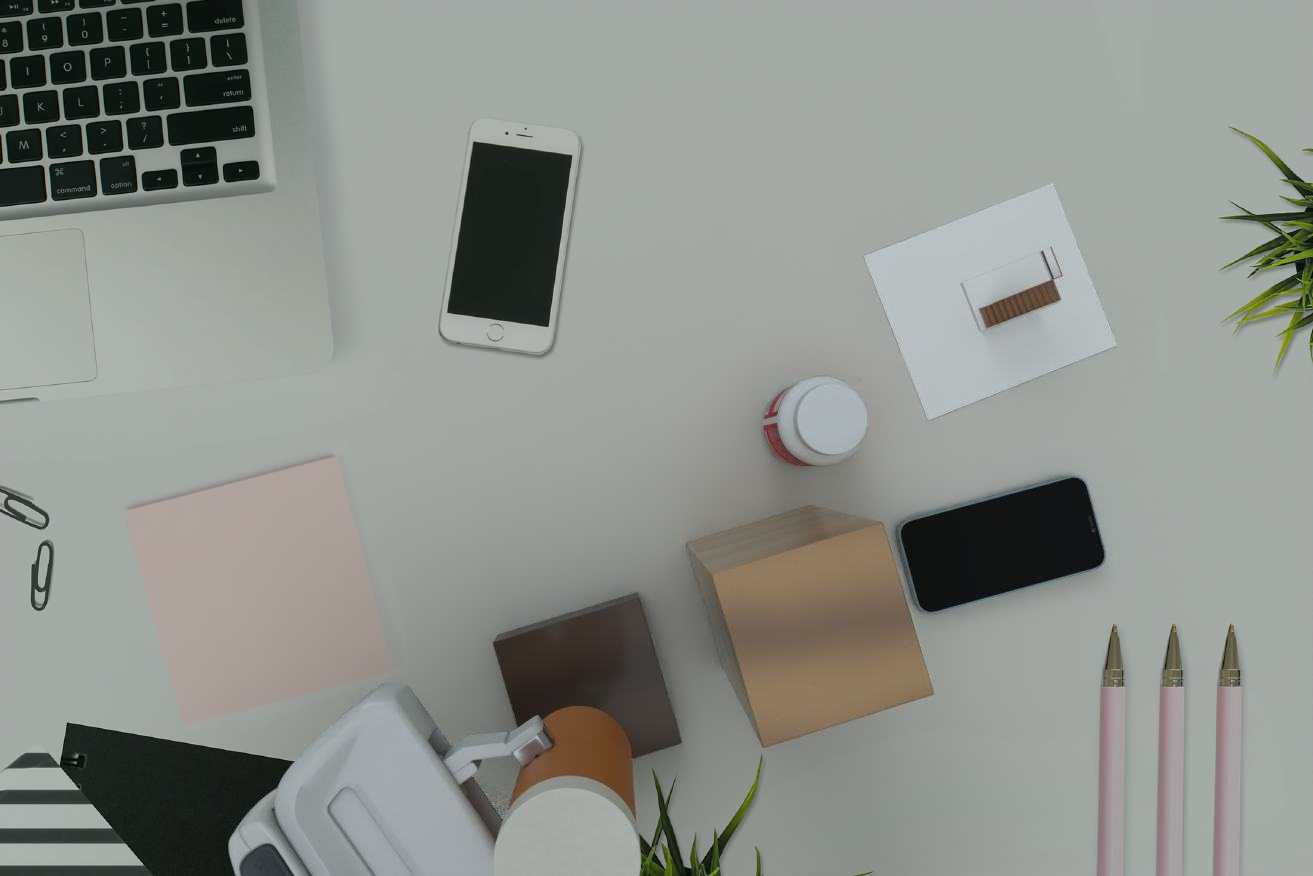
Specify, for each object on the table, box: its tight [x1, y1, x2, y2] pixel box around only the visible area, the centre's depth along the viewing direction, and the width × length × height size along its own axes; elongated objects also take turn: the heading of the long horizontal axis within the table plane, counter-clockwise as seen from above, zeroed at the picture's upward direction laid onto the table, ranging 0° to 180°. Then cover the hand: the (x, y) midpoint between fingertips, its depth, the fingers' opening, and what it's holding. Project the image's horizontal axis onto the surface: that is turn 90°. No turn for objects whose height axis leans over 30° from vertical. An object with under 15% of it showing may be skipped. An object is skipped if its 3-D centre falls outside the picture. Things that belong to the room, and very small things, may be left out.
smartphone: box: [895, 475, 1107, 615], centre depth 73 cm, size 7×1×15 cm
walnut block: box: [492, 592, 683, 760], centre depth 71 cm, size 11×11×3 cm
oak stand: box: [685, 504, 935, 749], centre depth 63 cm, size 10×10×20 cm
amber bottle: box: [493, 706, 642, 876], centre depth 47 cm, size 6×6×14 cm
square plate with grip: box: [863, 182, 1118, 421], centre depth 71 cm, size 16×14×6 cm
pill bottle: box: [761, 375, 869, 467], centre depth 68 cm, size 6×6×11 cm
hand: (588, 789), depth 47 cm, fingers closed on amber bottle, 6 cm apart
